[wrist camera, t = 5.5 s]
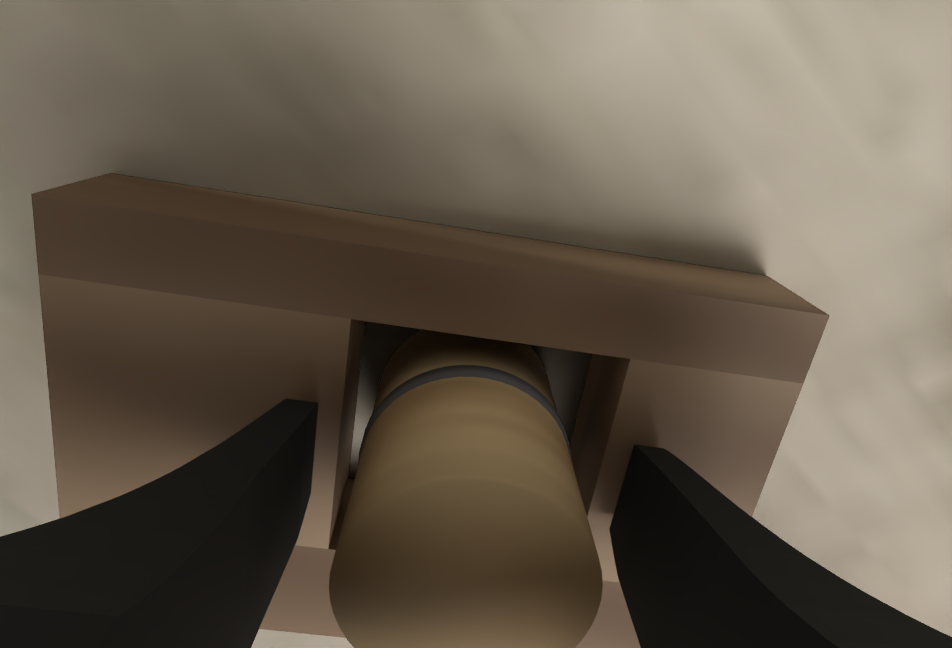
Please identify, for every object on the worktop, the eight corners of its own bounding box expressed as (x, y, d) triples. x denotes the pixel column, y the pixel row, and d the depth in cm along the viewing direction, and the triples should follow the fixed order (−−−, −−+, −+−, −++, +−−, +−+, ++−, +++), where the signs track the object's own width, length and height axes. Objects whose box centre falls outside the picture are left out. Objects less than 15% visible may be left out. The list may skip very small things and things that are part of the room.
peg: (528, 485, 16) (564, 709, 10) (365, 457, 15) (309, 674, 10) (571, 336, 14) (642, 502, 9) (393, 301, 14) (346, 451, 8)
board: (659, 592, 17) (690, 673, 15) (125, 531, 16) (68, 609, 14) (767, 276, 14) (829, 315, 12) (110, 173, 13) (31, 194, 10)
